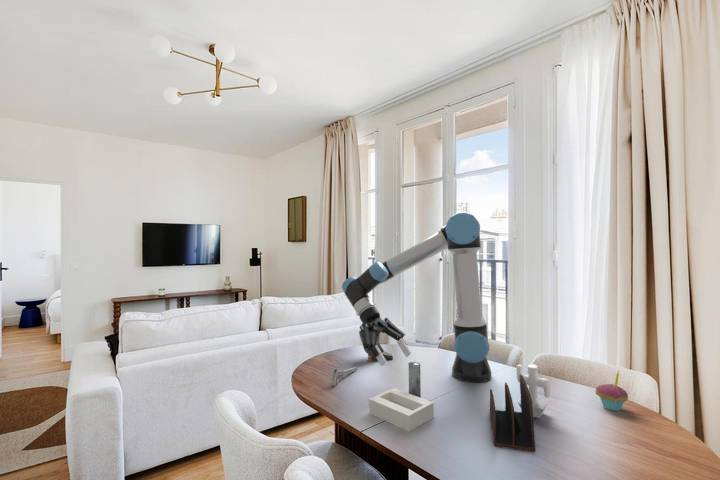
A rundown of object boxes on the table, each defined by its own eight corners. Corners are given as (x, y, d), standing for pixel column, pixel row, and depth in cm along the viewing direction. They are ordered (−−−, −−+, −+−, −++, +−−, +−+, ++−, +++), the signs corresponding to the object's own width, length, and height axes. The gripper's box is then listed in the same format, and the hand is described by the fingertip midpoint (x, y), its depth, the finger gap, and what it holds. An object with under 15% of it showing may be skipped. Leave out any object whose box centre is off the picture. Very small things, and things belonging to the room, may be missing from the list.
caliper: (334, 387, 134) (334, 370, 135) (332, 387, 135) (332, 370, 135) (357, 370, 153) (357, 355, 154) (355, 369, 154) (355, 354, 154)
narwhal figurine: (360, 354, 174) (359, 317, 174) (391, 354, 174) (391, 317, 174) (359, 364, 160) (358, 323, 160) (393, 364, 159) (392, 323, 160)
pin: (421, 396, 125) (420, 362, 125) (420, 401, 121) (419, 366, 121) (409, 395, 126) (409, 361, 126) (408, 400, 122) (407, 365, 122)
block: (369, 413, 113) (369, 398, 113) (394, 401, 121) (394, 388, 121) (409, 431, 102) (408, 415, 102) (433, 417, 110) (433, 402, 110)
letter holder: (523, 416, 110) (522, 370, 110) (535, 453, 91) (534, 397, 91) (489, 412, 113) (488, 367, 113) (493, 447, 94) (492, 392, 94)
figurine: (548, 423, 105) (546, 371, 106) (514, 413, 111) (513, 365, 112) (553, 413, 111) (552, 365, 111) (520, 405, 117) (520, 359, 117)
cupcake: (622, 403, 117) (622, 367, 117) (633, 415, 109) (632, 376, 109) (592, 400, 120) (591, 364, 120) (600, 411, 112) (599, 373, 112)
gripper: (384, 313, 150) (412, 357, 139) (338, 322, 133) (366, 373, 122) (393, 301, 146) (423, 346, 135) (347, 310, 129) (378, 361, 118)
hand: (396, 359), depth 128 cm, fingers open, 13 cm apart
